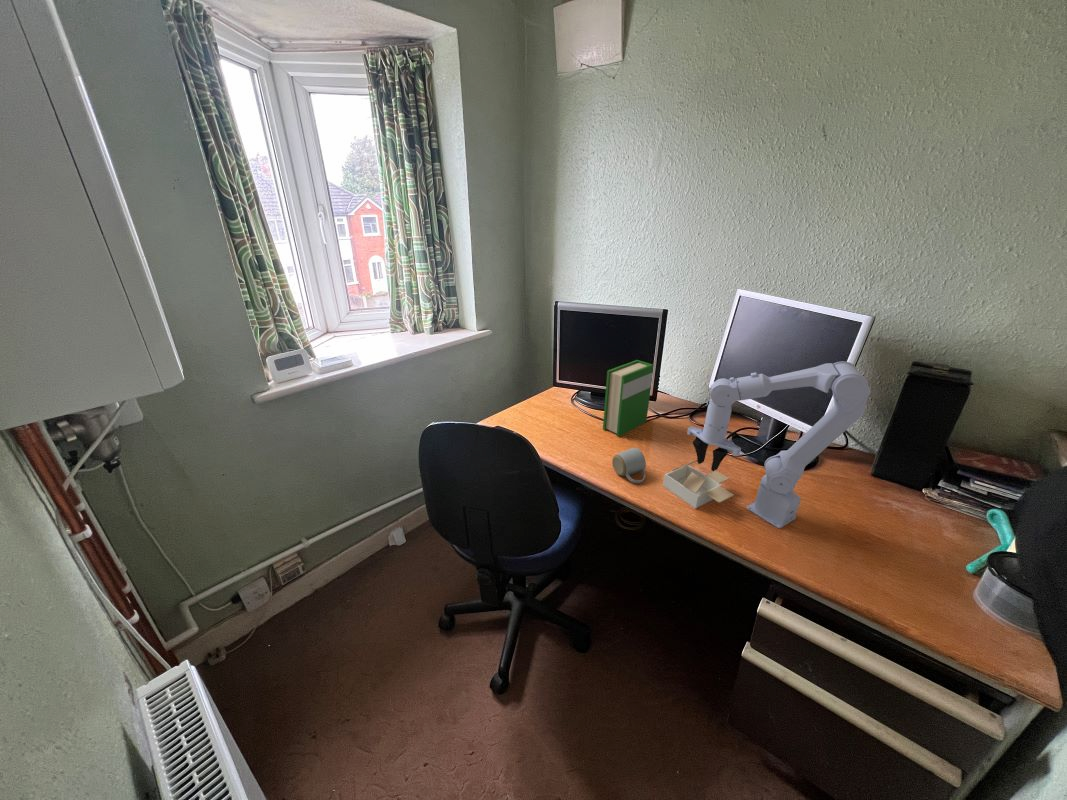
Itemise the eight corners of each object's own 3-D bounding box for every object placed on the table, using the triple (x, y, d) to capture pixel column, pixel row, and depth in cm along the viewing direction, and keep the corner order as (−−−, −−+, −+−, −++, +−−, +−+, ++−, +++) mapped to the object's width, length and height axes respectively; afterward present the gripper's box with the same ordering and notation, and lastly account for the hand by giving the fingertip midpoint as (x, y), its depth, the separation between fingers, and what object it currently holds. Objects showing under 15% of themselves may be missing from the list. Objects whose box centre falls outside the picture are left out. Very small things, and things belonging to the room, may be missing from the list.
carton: (743, 500, 115) (746, 488, 113) (709, 518, 108) (712, 505, 106) (695, 471, 128) (698, 460, 126) (662, 486, 121) (664, 474, 119)
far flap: (697, 461, 119) (697, 460, 119) (683, 466, 116) (683, 465, 116) (686, 465, 123) (685, 464, 123) (672, 471, 120) (672, 470, 120)
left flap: (705, 480, 111) (705, 480, 110) (695, 493, 111) (695, 493, 110) (692, 472, 114) (691, 471, 114) (682, 484, 114) (682, 484, 114)
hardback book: (618, 437, 148) (624, 376, 138) (602, 429, 153) (607, 370, 143) (646, 422, 158) (653, 364, 148) (630, 415, 163) (636, 359, 153)
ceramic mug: (609, 469, 129) (611, 449, 126) (630, 462, 132) (632, 443, 129) (630, 488, 121) (633, 466, 117) (651, 480, 124) (654, 460, 120)
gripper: (751, 429, 103) (740, 473, 109) (701, 409, 114) (693, 450, 120) (736, 437, 100) (725, 482, 105) (685, 416, 110) (678, 458, 116)
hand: (707, 466), depth 112 cm, fingers open, 4 cm apart
